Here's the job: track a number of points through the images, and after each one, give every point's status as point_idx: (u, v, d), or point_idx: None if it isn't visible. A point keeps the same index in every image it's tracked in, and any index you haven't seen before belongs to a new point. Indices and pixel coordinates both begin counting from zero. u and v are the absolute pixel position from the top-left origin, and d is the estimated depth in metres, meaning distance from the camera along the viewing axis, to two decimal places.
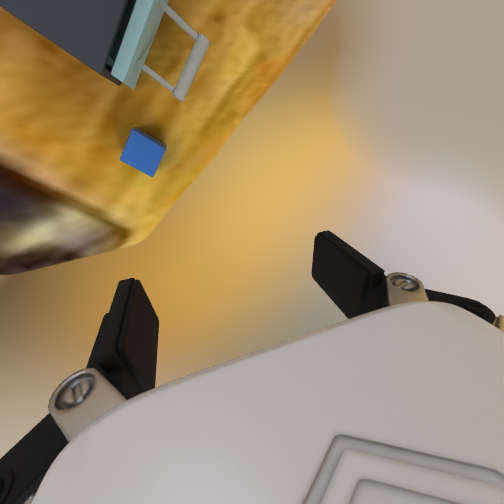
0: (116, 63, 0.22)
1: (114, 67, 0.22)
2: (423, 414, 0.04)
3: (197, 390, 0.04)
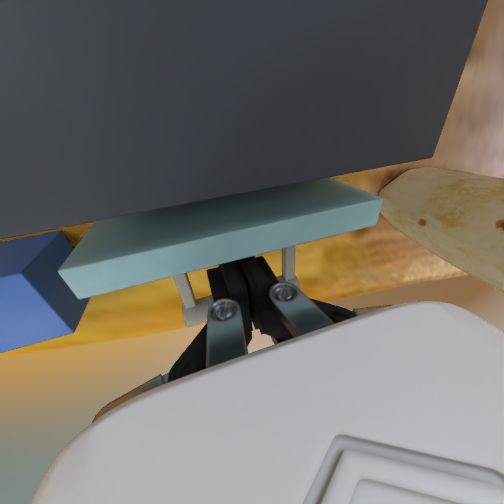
0: (102, 266, 0.07)
1: (86, 269, 0.06)
2: (423, 414, 0.04)
3: (197, 390, 0.04)
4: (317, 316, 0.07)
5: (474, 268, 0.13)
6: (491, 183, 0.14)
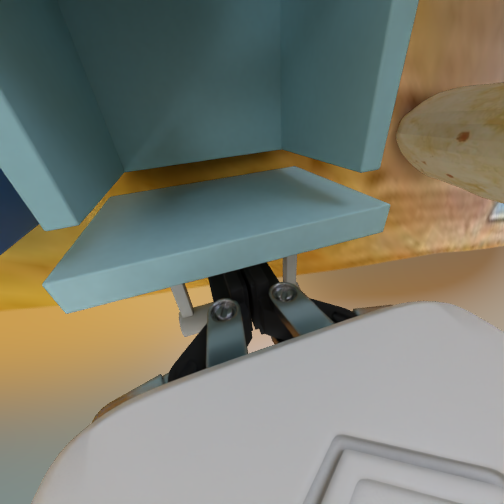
0: (91, 278, 0.06)
1: (73, 281, 0.06)
2: (423, 414, 0.04)
3: (197, 390, 0.04)
4: (317, 316, 0.07)
5: None
6: None
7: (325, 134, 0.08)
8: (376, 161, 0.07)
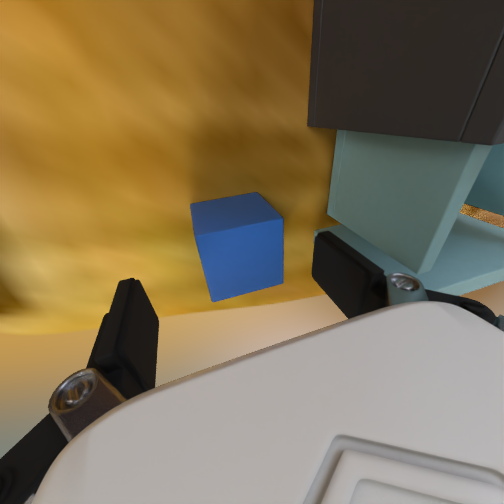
0: None
1: None
2: (423, 414, 0.04)
3: (197, 390, 0.04)
4: None
5: None
6: None
7: None
8: None
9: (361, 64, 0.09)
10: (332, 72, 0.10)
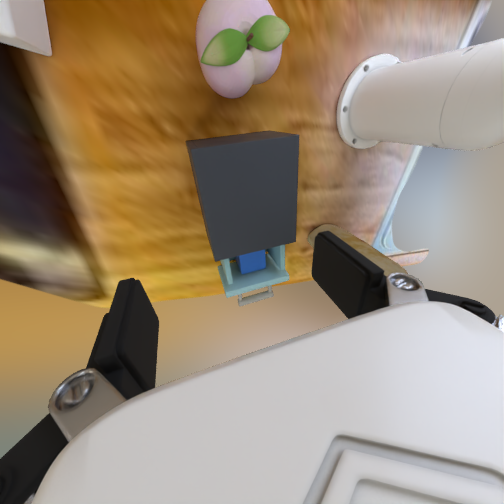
0: (232, 291, 0.36)
1: (230, 292, 0.36)
2: (423, 414, 0.04)
3: (197, 390, 0.04)
4: None
5: None
6: (338, 236, 0.40)
7: (275, 258, 0.38)
8: (283, 268, 0.37)
9: (206, 230, 0.34)
10: (205, 225, 0.35)
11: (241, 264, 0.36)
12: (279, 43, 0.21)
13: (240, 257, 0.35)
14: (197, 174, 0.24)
